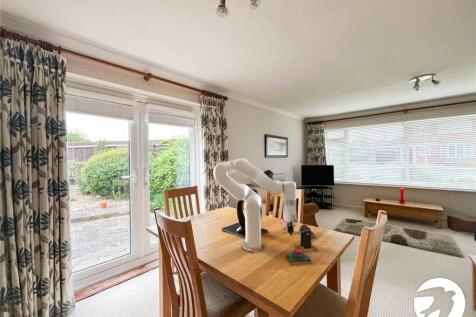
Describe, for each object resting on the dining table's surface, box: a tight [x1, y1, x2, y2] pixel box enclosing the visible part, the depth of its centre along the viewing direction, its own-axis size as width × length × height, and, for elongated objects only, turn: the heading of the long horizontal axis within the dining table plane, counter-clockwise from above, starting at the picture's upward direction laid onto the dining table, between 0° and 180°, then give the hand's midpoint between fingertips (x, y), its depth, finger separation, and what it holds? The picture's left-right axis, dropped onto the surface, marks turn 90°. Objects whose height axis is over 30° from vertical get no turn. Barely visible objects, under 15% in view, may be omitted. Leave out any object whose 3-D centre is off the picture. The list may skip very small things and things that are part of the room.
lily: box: [279, 217, 297, 230], centre depth 150 cm, size 12×12×10 cm
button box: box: [286, 249, 312, 263], centre depth 109 cm, size 10×8×4 cm
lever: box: [288, 231, 303, 237], centre depth 121 cm, size 12×5×2 cm, turn 97°
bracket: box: [300, 228, 312, 250], centre depth 122 cm, size 10×8×12 cm
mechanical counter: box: [298, 224, 317, 239], centre depth 140 cm, size 7×13×10 cm
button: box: [294, 248, 303, 255], centre depth 109 cm, size 4×4×2 cm
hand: (290, 232), depth 121 cm, fingers closed
